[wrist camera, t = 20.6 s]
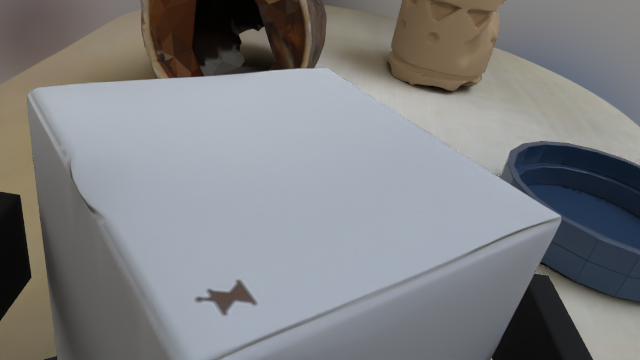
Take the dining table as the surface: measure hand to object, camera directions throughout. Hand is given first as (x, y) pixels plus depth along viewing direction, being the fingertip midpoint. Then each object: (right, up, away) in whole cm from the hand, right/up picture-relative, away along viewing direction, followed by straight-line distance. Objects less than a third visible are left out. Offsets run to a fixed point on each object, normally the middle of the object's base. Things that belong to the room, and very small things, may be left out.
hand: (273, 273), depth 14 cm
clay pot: (-6, +13, +42) cm, 45 cm away
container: (+16, +16, +55) cm, 60 cm away
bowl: (+23, -2, +28) cm, 36 cm away
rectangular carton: (-2, -10, +5) cm, 11 cm away
